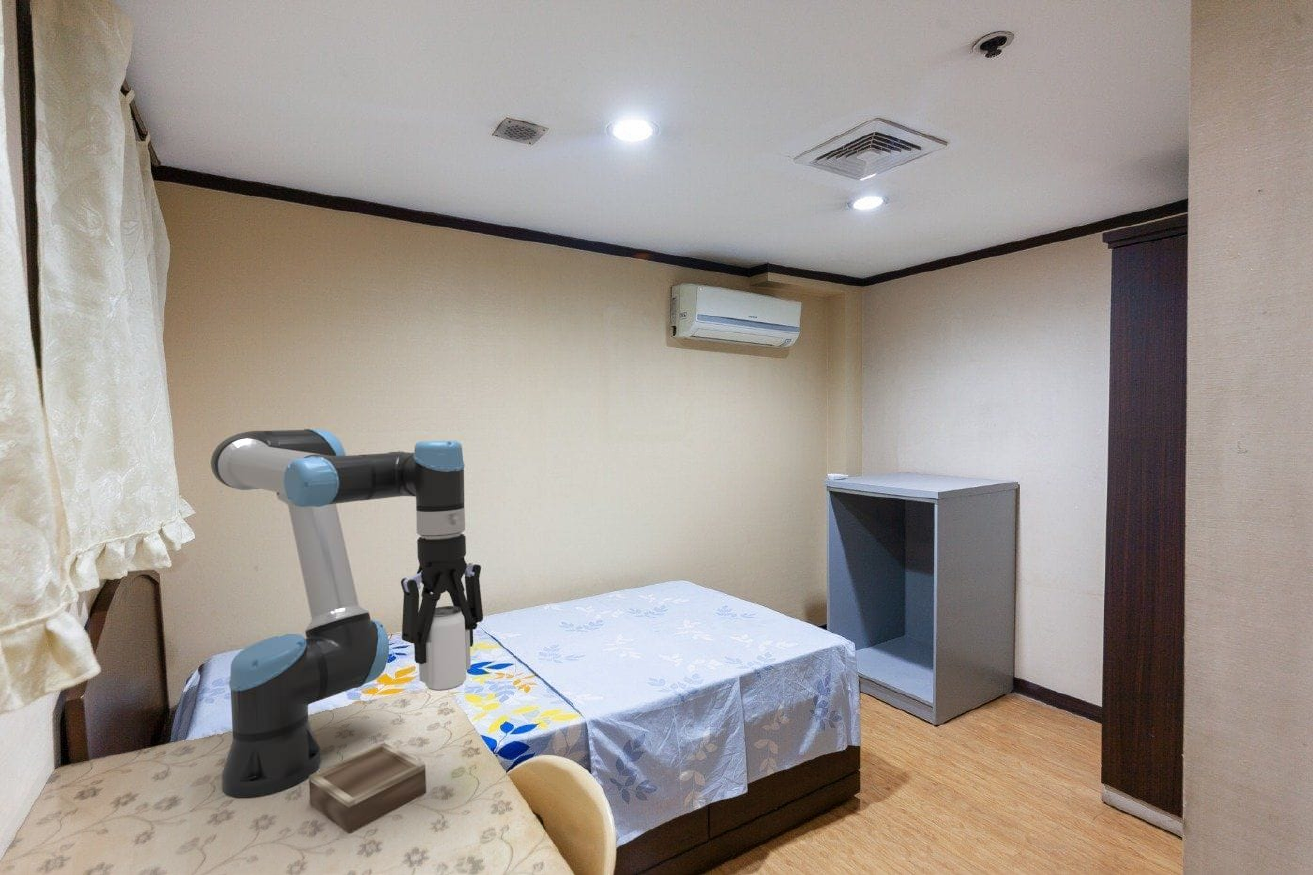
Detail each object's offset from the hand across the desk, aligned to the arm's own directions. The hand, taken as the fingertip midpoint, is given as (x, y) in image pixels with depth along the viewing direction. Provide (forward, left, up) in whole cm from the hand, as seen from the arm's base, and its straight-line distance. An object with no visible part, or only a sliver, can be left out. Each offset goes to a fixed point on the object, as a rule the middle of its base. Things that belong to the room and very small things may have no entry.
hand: (445, 674), depth 104 cm
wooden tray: (-11, -8, -21) cm, 25 cm away
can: (0, 0, -2) cm, 2 cm away
